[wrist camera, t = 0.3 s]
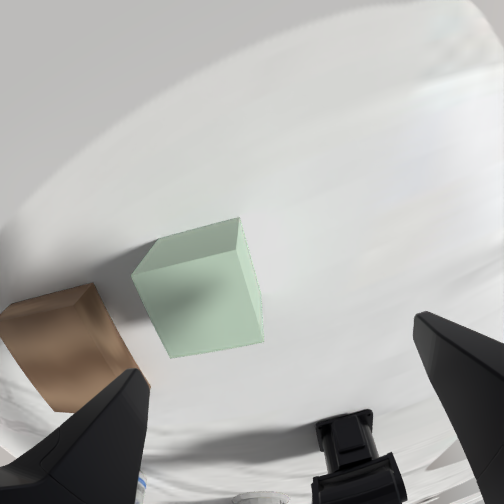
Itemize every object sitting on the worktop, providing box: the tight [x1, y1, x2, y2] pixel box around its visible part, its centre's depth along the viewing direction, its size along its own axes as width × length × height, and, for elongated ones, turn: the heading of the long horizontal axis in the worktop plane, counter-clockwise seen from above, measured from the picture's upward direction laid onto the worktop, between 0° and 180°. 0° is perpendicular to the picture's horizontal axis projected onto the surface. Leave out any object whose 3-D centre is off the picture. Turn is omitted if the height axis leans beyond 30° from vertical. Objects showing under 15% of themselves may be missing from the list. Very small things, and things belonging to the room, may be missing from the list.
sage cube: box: [131, 217, 264, 358], centre depth 20 cm, size 6×6×6 cm
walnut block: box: [0, 283, 151, 413], centre depth 24 cm, size 12×12×4 cm
